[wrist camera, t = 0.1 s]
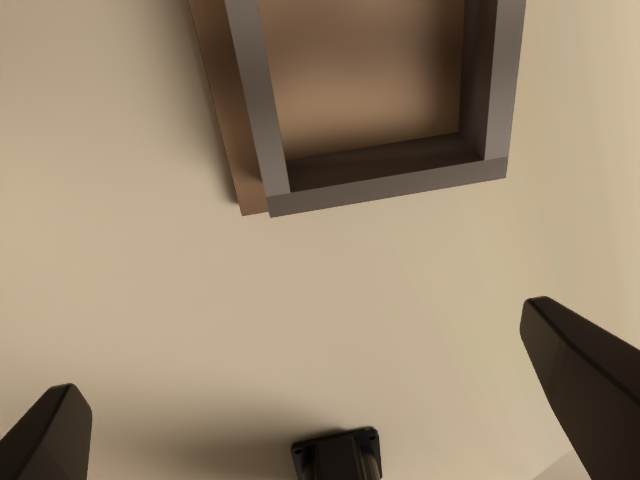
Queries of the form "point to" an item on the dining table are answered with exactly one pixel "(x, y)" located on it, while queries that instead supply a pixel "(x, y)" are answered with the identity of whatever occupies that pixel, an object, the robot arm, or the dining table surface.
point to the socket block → (359, 96)
